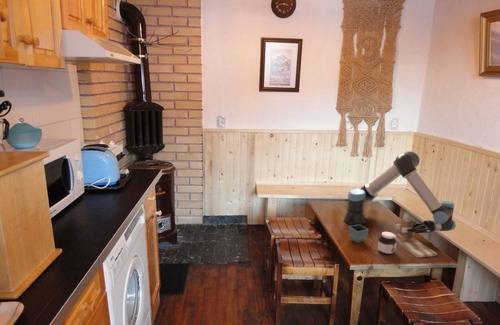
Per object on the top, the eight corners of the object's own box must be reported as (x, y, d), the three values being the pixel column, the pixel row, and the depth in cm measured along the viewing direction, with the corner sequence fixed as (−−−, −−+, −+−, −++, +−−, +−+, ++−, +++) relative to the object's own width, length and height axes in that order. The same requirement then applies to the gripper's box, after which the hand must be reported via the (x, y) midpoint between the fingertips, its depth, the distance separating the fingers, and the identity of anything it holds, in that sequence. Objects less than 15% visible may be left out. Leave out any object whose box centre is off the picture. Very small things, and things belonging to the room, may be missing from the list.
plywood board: (417, 257, 193) (417, 255, 193) (388, 236, 220) (388, 234, 219) (436, 255, 195) (437, 253, 195) (406, 235, 222) (406, 233, 222)
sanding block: (402, 241, 209) (404, 222, 206) (395, 236, 216) (397, 218, 213) (415, 240, 211) (417, 221, 208) (408, 235, 217) (410, 217, 215)
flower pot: (347, 239, 216) (348, 226, 214) (358, 237, 219) (359, 224, 217) (356, 245, 208) (357, 231, 206) (367, 242, 211) (368, 229, 209)
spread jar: (384, 256, 193) (386, 238, 191) (370, 248, 204) (372, 230, 201) (400, 252, 198) (402, 234, 196) (385, 244, 208) (387, 227, 206)
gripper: (441, 237, 207) (407, 240, 203) (421, 225, 225) (390, 228, 220) (442, 226, 206) (409, 228, 201) (422, 215, 223) (391, 217, 219)
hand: (399, 228), depth 211 cm, fingers closed on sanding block, 5 cm apart
